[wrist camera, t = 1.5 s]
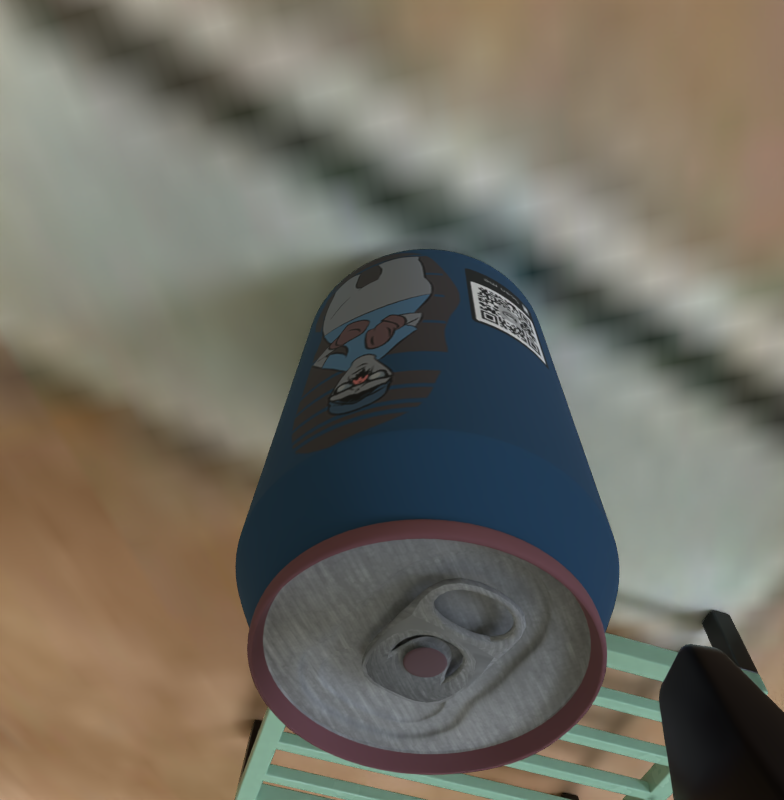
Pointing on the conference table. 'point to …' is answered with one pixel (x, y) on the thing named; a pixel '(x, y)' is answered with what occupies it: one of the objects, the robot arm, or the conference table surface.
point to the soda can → (427, 530)
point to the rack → (641, 795)
